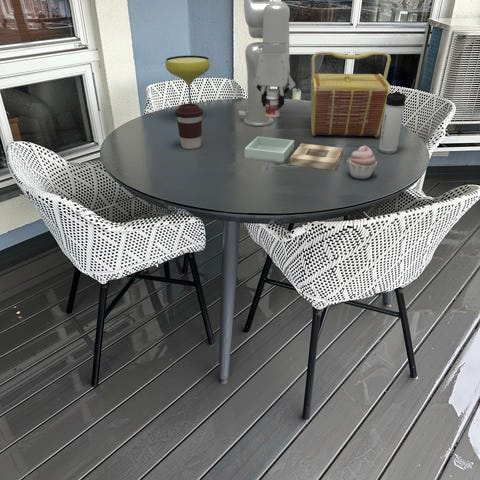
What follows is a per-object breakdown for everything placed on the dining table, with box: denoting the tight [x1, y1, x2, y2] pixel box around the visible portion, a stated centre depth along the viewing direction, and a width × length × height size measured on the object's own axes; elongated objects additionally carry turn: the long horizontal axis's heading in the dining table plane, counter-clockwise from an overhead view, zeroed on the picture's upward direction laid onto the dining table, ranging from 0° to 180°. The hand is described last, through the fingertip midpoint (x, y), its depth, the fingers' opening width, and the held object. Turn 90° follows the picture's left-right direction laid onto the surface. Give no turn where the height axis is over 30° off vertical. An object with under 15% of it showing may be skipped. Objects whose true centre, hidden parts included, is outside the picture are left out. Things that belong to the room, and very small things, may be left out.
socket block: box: [289, 143, 344, 171], centre depth 155 cm, size 15×15×2 cm
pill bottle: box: [266, 88, 281, 118], centre depth 151 cm, size 5×5×8 cm
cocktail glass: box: [165, 55, 211, 119], centre depth 191 cm, size 18×18×25 cm
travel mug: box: [378, 91, 407, 155], centre depth 157 cm, size 6×7×20 cm
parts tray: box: [244, 135, 295, 164], centre depth 160 cm, size 14×14×4 cm
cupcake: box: [346, 145, 378, 180], centre depth 141 cm, size 9×9×10 cm
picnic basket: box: [310, 50, 392, 138], centre depth 175 cm, size 29×26×30 cm
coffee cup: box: [174, 102, 204, 150], centre depth 164 cm, size 10×10×15 cm
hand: (272, 105), depth 152 cm, fingers closed on pill bottle, 4 cm apart
